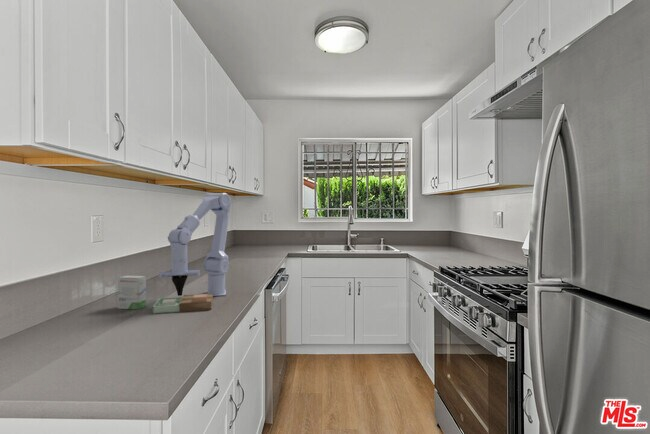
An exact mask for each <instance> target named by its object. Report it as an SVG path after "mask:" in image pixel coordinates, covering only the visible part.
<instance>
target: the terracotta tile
mask: <svg viewBox="0 0 650 434" xmlns="http://www.w3.org/2000/svg"><path fill="white" fill-rule="evenodd" d="M193 295H194V302H200V301H207V293H200V294H199V295H196V294H193Z"/></svg>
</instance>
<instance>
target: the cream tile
mask: <svg viewBox="0 0 650 434" xmlns="http://www.w3.org/2000/svg"><path fill="white" fill-rule="evenodd" d="M169 305H176V299H168V300H163V302H162V306H169Z"/></svg>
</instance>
